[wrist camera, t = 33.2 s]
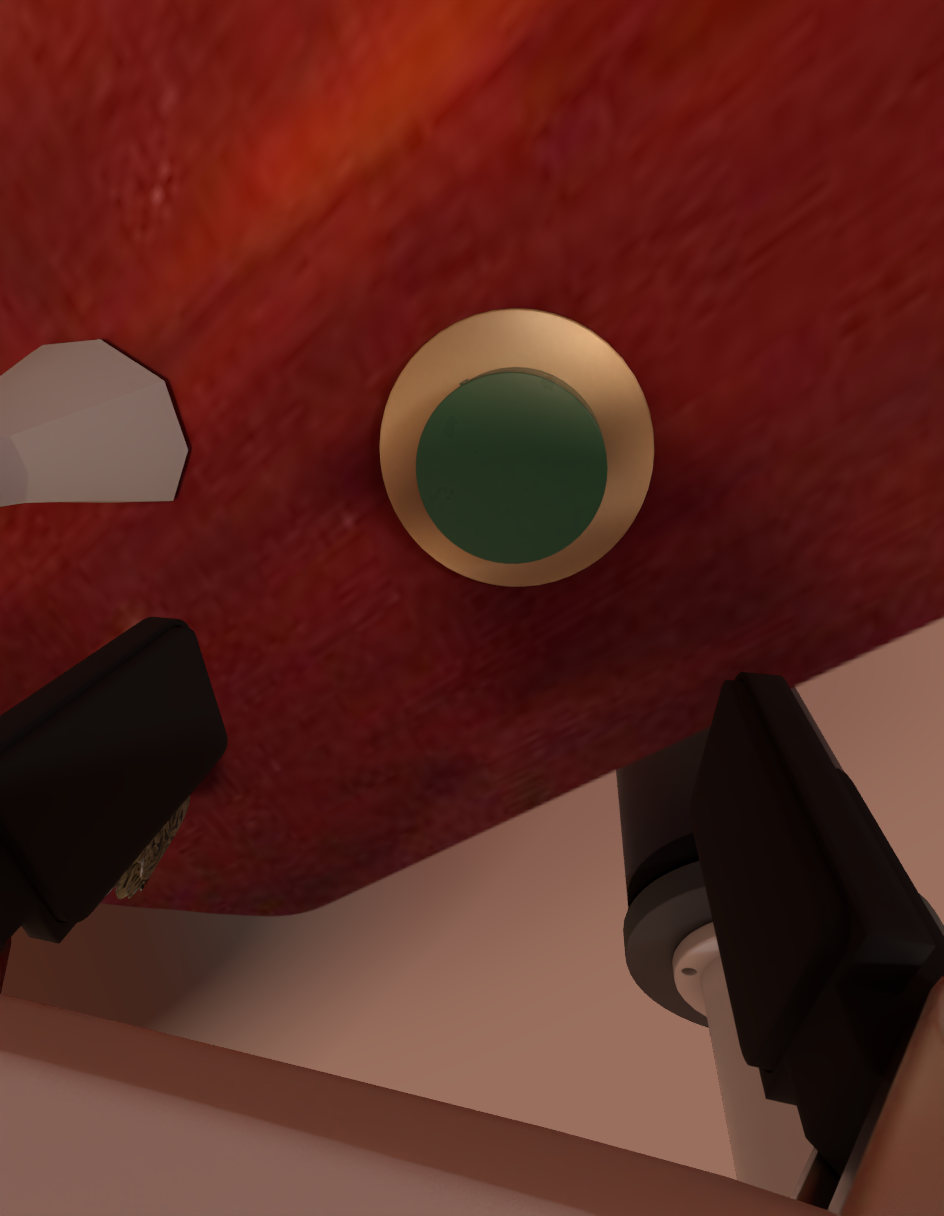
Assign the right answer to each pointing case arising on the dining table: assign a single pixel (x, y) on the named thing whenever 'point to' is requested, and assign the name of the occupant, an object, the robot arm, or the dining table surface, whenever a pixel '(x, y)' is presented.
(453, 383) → the coaster
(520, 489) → the jar lid
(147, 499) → the flask
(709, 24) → the dining table surface
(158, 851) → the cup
